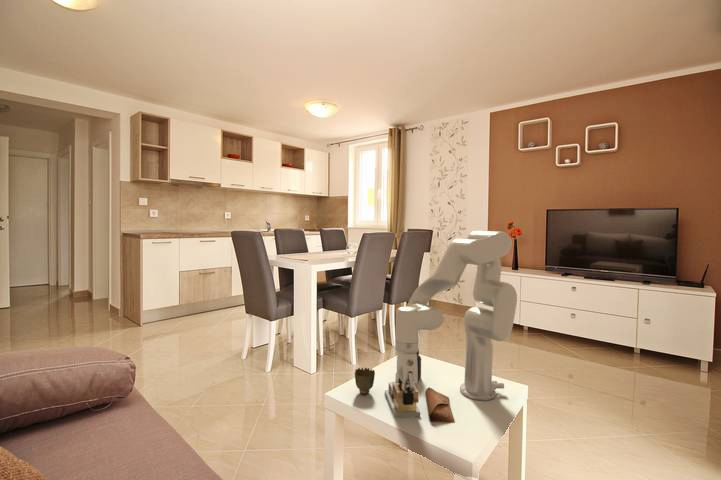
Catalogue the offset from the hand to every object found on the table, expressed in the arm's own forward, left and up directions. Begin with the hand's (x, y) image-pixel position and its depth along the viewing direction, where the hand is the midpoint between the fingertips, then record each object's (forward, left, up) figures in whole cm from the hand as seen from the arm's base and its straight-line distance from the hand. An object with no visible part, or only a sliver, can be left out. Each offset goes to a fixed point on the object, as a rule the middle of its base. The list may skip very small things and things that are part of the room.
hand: (405, 398), depth 117 cm
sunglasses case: (-12, -1, -5) cm, 13 cm away
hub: (0, 0, -3) cm, 3 cm away
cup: (+12, -14, -5) cm, 19 cm away
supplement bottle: (-9, -25, -5) cm, 27 cm away
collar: (0, 0, 0) cm, 0 cm away
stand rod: (0, -9, -3) cm, 9 cm away
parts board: (0, -4, -5) cm, 6 cm away
